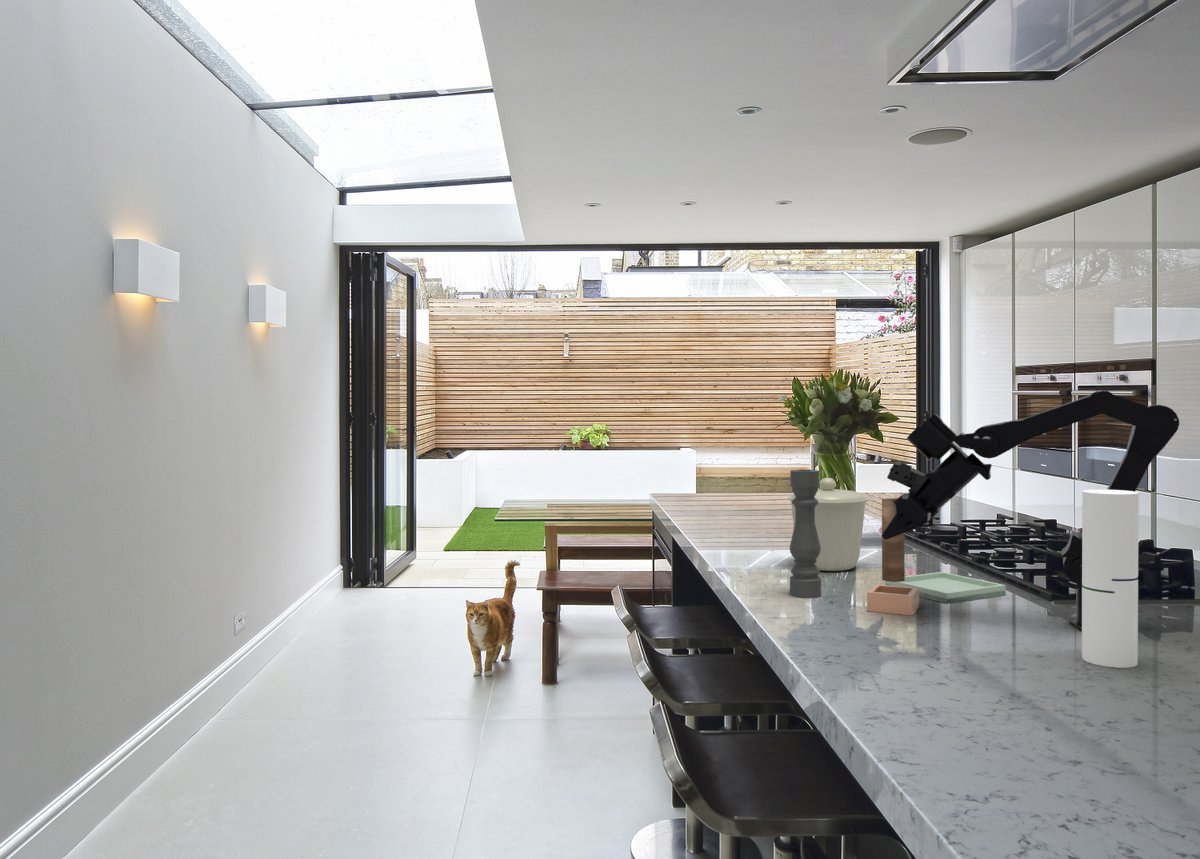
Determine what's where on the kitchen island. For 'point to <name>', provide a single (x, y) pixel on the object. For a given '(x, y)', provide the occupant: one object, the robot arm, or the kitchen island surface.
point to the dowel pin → (892, 546)
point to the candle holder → (805, 535)
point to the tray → (951, 587)
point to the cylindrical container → (1110, 577)
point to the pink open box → (893, 599)
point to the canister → (837, 526)
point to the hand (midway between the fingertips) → (885, 536)
